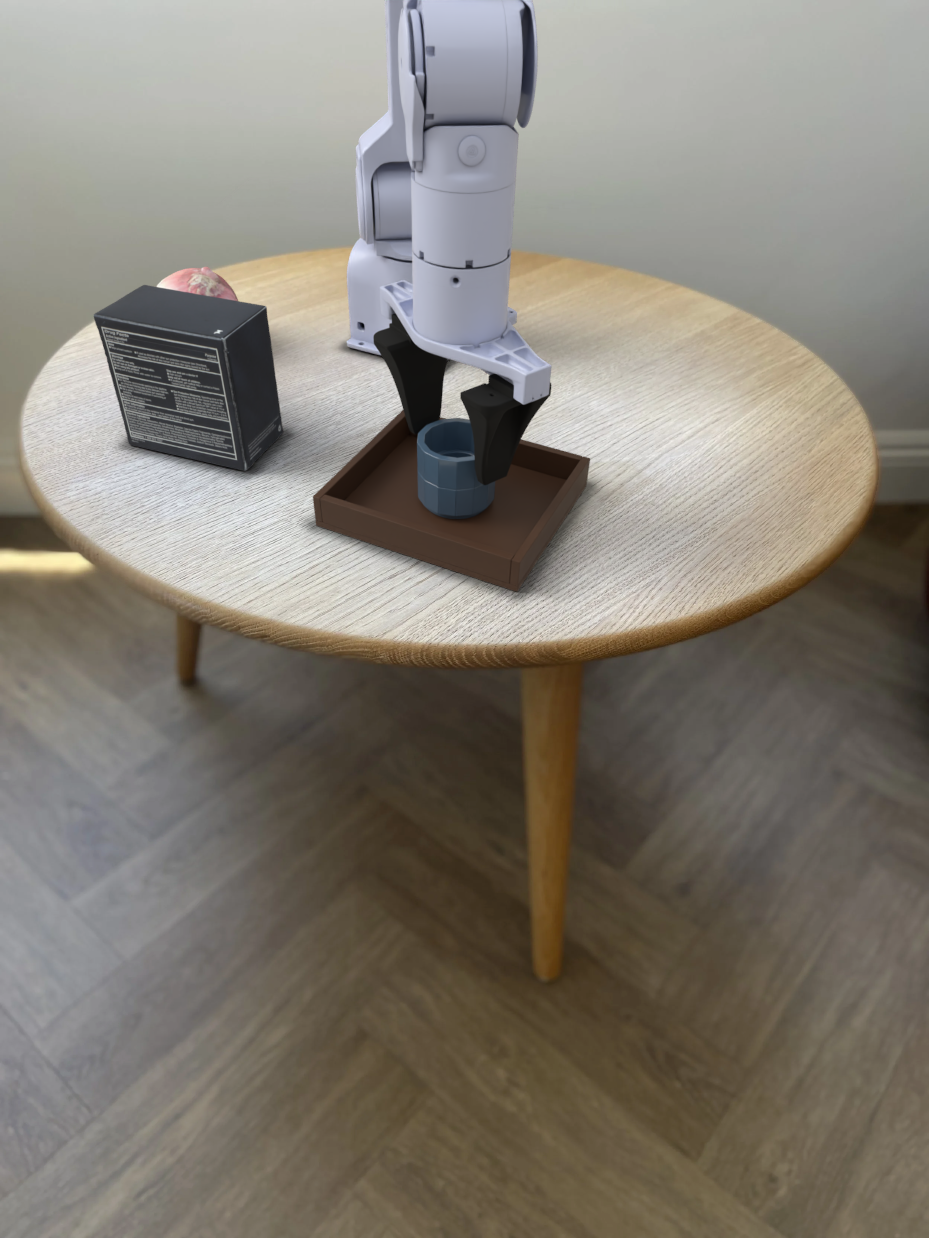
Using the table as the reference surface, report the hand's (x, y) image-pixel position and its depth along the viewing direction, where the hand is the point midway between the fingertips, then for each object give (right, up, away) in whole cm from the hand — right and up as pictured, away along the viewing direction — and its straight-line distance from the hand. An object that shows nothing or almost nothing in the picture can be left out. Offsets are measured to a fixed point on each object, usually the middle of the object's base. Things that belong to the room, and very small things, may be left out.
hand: (457, 452), depth 59 cm
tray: (0, -3, +3) cm, 4 cm away
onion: (-23, +13, +20) cm, 33 cm away
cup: (0, -3, +3) cm, 4 cm away
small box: (-20, +3, +9) cm, 22 cm away
